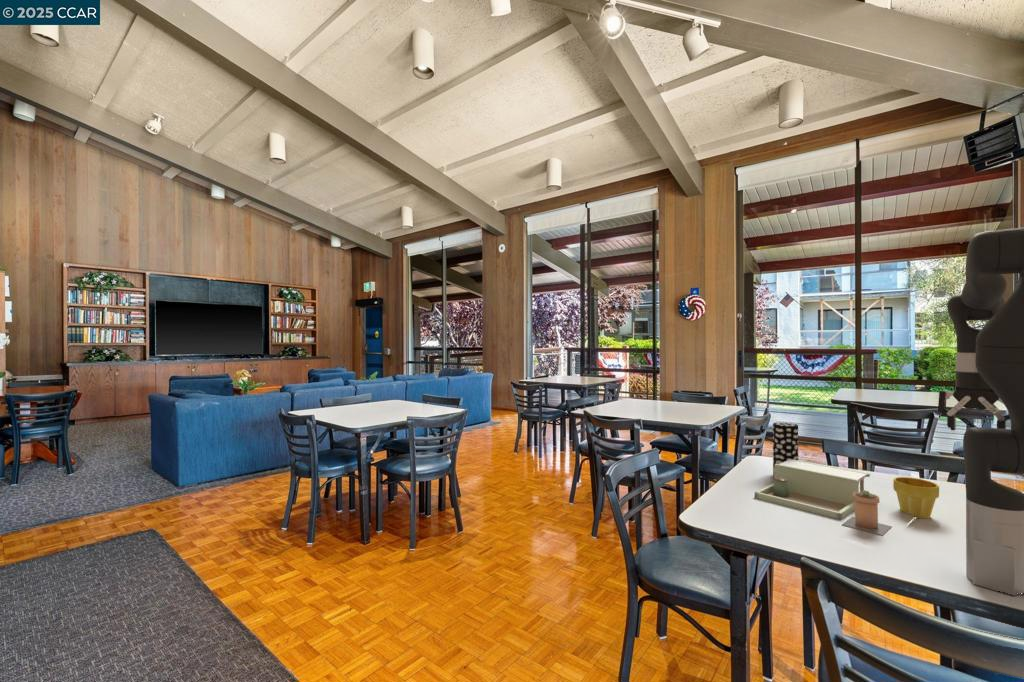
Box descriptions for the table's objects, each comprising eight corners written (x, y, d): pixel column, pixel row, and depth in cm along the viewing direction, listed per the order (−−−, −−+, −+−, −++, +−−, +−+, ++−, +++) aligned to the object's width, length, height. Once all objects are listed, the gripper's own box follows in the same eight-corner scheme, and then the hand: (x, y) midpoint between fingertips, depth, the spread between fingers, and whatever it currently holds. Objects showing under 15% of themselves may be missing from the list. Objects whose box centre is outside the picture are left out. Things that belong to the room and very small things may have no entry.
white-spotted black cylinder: (794, 474, 178) (794, 422, 178) (801, 480, 170) (801, 426, 170) (770, 472, 181) (770, 422, 181) (776, 479, 173) (776, 425, 173)
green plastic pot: (790, 498, 150) (790, 482, 150) (774, 496, 151) (775, 480, 151) (786, 493, 154) (787, 477, 154) (772, 491, 156) (772, 476, 155)
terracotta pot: (876, 531, 123) (876, 495, 123) (850, 524, 128) (850, 490, 128) (882, 525, 127) (881, 490, 127) (856, 519, 131) (856, 485, 131)
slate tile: (882, 538, 121) (882, 535, 121) (841, 528, 128) (841, 524, 128) (891, 529, 126) (891, 526, 126) (852, 519, 134) (852, 516, 134)
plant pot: (948, 522, 131) (948, 488, 131) (907, 520, 133) (906, 486, 133) (924, 509, 141) (924, 477, 141) (885, 507, 144) (885, 475, 144)
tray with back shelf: (841, 522, 132) (840, 490, 132) (754, 499, 151) (754, 472, 151) (869, 500, 149) (869, 473, 149) (789, 483, 168) (788, 458, 168)
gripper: (935, 369, 123) (935, 430, 123) (1014, 372, 112) (1014, 439, 112) (941, 368, 127) (941, 426, 127) (1017, 370, 116) (1017, 435, 116)
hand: (975, 432), depth 120 cm, fingers open, 8 cm apart
